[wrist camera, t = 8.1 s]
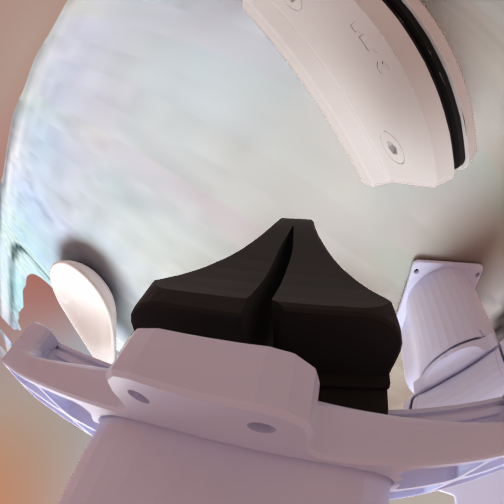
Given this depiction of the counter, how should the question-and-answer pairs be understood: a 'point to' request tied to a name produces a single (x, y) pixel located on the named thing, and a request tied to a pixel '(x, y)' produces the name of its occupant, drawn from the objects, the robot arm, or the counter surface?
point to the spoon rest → (87, 306)
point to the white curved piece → (378, 83)
